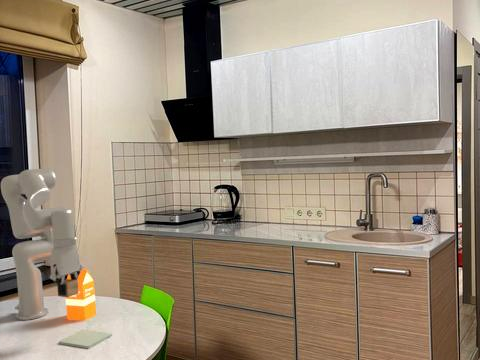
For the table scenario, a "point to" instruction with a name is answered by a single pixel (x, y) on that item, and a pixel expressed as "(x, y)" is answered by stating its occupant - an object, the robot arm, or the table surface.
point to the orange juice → (82, 299)
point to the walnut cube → (70, 288)
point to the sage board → (85, 338)
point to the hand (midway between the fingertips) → (68, 292)
